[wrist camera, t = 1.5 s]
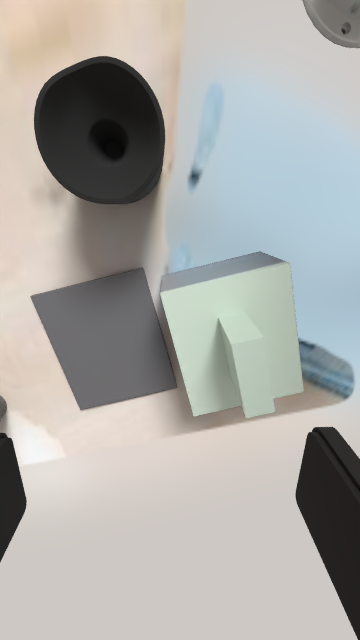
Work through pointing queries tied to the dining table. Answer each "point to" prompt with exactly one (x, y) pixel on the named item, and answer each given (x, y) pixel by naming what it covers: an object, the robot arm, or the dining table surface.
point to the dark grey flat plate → (107, 338)
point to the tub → (217, 270)
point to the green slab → (237, 340)
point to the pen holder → (101, 131)
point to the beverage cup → (2, 407)
